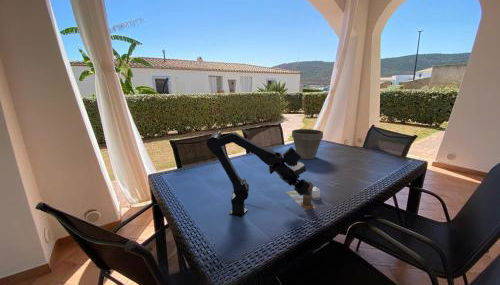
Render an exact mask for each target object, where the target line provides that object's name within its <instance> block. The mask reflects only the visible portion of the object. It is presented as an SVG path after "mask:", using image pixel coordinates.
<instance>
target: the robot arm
mask: <svg viewBox="0 0 500 285" xmlns="http://www.w3.org/2000/svg"><path fill="white" fill-rule="evenodd" d="M232 143H233V144H235V145H237V146H238V147H241V148H242V149H244V150H246V151H248V152H250V153H251V154H253V155H255V156H256V157H257V158H258V159H259V160H261V162H263V163H264V164H265V165H267V166H268V172H269V174H271V175H272V174H273V173H274V172H275V173H276V175H278V177H279V178H280V180H282V181H284V183H286V184H288V185H289V186H290V187H292V186H294V188H293V189H294V190H293V191H296V192H297V193H298V194H300V195H301V196H303V195H308V196H309V195H310V192H309V190H308V188H309V187H310V184H309V183H308V182H307V181H308V180H305V179H299V178H301V176H300V175H302V174H304V173H305V172H307V168H306V165H305V164H304V163H303V162H300V161H301V159H302V157H301V156H300V154H299V153H298V152H297V151H296V149H295V148H294V147H292V146H290V147H289V148H288V149H287V150H286V151H285V152H284V153H282V152H277V151H275V150H274V149H271V148H269V147H265V146H262V145H259V144H256V143H255V142H253V141H251V140H250V139H248V138H245V136H242V135H240V134H239V133H238V132H236V131H230V132H227V133H221V134H217V133H215V134H211V135H210V136H209V138H208V139H207V140H206V143H205V144H206V148H207V149H208V150H209V151H210V152H211V153H212V154H213V155H214V156H215V157H216V158H217V159H218V161H219V163H220V165H221V167H222V168H223V170H224V172H225V174H226V175H227V177H228V179H229V181H230V183H231V184H232V189H233V192H232V195H231V200H230V202H231V210H230V211H229V212H228V214H229V215H232V216H237V217H239V218H241V217H243V216H244V215H245V213H247V211H248V208H245V201H246V200H247V199H248V198H249V189H250V184H249V183H248V182H247V180H246V178H243V179H242V178H241V177H240V175H239V174H238V172H237V169H236V168H235V166H234V165H233V162H232V161H231V158H230V157H229V155H228V153H227V152H226V147H225V146H226V145H229V144H232ZM302 160H303V159H302Z"/></svg>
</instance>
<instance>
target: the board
mask: <svg viewBox="0 0 500 285" xmlns="http://www.w3.org/2000/svg"><path fill="white" fill-rule="evenodd" d="M285 193H286V194H287V195H288V196H290V198H292V200H294V201H295V202H296V203H297V204H298V205H299V206H300V207H301V208H303V207H302V206H301V202H303V195H300V194H298V193H297V192H296V191H295V190H291V191H285ZM303 209H304V210H305V211H306V210H311V209H316V206H315V205H313V207H312V208H309V209H307V208H303Z"/></svg>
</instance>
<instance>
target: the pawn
mask: <svg viewBox="0 0 500 285" xmlns="http://www.w3.org/2000/svg"><path fill="white" fill-rule="evenodd" d="M306 181H307V182H308V183H309V184H310V187H309V188H308V190H309V192H310V195H309V196H308V195H302V196H303V202H301V206H302V207H303V209H304V208H307V209H306V210H310V209H309V208H311V209H313V208H312V207H313V206H314V204H313V203H312V189H313V187H314V185H313V182H311V181H310V180H306ZM301 206H300V207H301ZM302 207H301V208H302Z"/></svg>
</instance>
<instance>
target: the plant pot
mask: <svg viewBox="0 0 500 285" xmlns="http://www.w3.org/2000/svg"><path fill="white" fill-rule="evenodd" d="M291 137H292V138H293V139H292V140H293V144H294V150H296V151H297V152H298V153H299V154H300V156H301V157H302V160H313V159H315V158H316V156H317V153H318V150H319V147H320V144H321V142H322V139H323V138H324V131H322V130H318V129H310V128H296V129H294V130H292V131H291Z"/></svg>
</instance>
